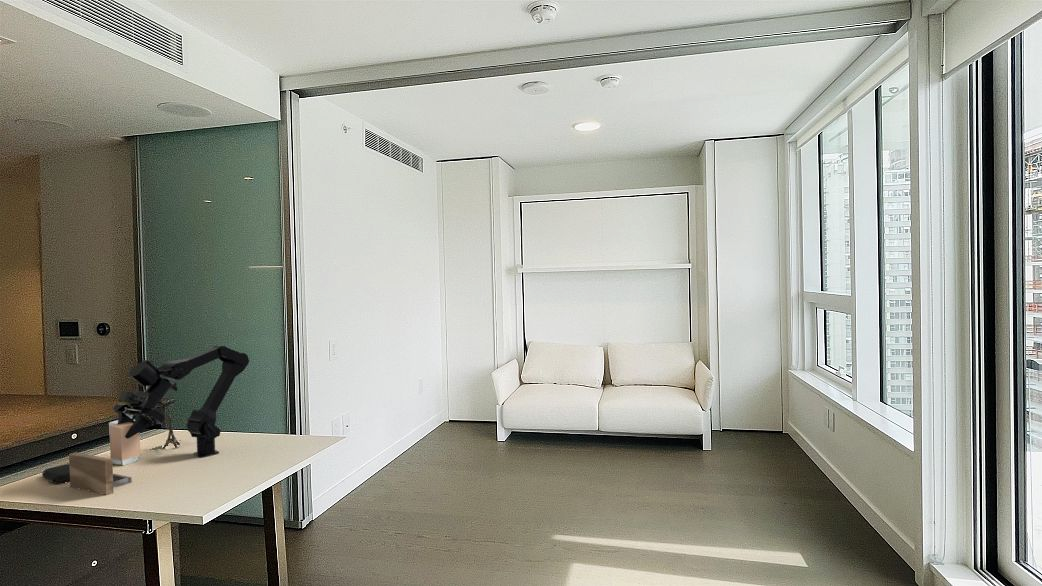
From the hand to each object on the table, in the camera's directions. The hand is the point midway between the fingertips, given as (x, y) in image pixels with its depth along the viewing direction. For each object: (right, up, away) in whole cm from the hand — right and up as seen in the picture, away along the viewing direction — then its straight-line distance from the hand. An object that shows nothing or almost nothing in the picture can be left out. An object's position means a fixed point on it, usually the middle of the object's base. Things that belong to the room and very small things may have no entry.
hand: (120, 436), depth 183 cm
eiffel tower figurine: (-6, -14, +37) cm, 40 cm away
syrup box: (-11, -14, +19) cm, 26 cm away
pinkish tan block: (+1, -7, +1) cm, 7 cm away
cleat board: (-2, -14, -4) cm, 14 cm away
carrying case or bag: (-21, -15, +5) cm, 26 cm away
